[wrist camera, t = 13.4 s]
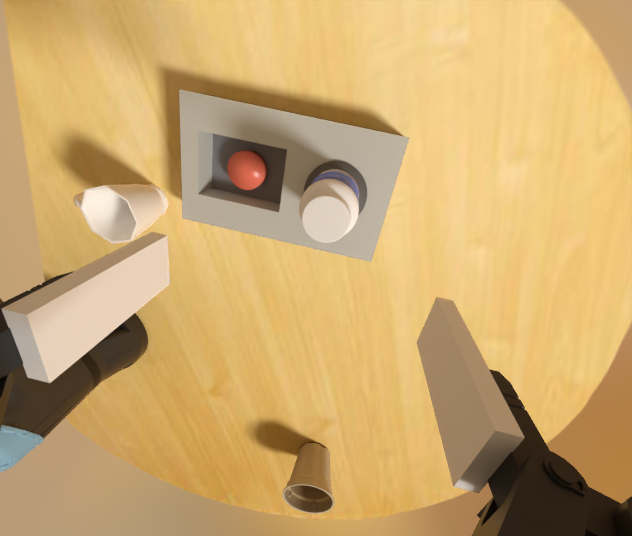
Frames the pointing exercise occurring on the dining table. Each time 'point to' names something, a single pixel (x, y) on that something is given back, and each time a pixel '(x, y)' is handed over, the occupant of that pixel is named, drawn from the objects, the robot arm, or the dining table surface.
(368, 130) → the grey recessed tray
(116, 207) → the cup
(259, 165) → the breaker button
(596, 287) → the dining table surface
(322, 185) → the pill bottle
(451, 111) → the dining table surface
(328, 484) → the flower pot
